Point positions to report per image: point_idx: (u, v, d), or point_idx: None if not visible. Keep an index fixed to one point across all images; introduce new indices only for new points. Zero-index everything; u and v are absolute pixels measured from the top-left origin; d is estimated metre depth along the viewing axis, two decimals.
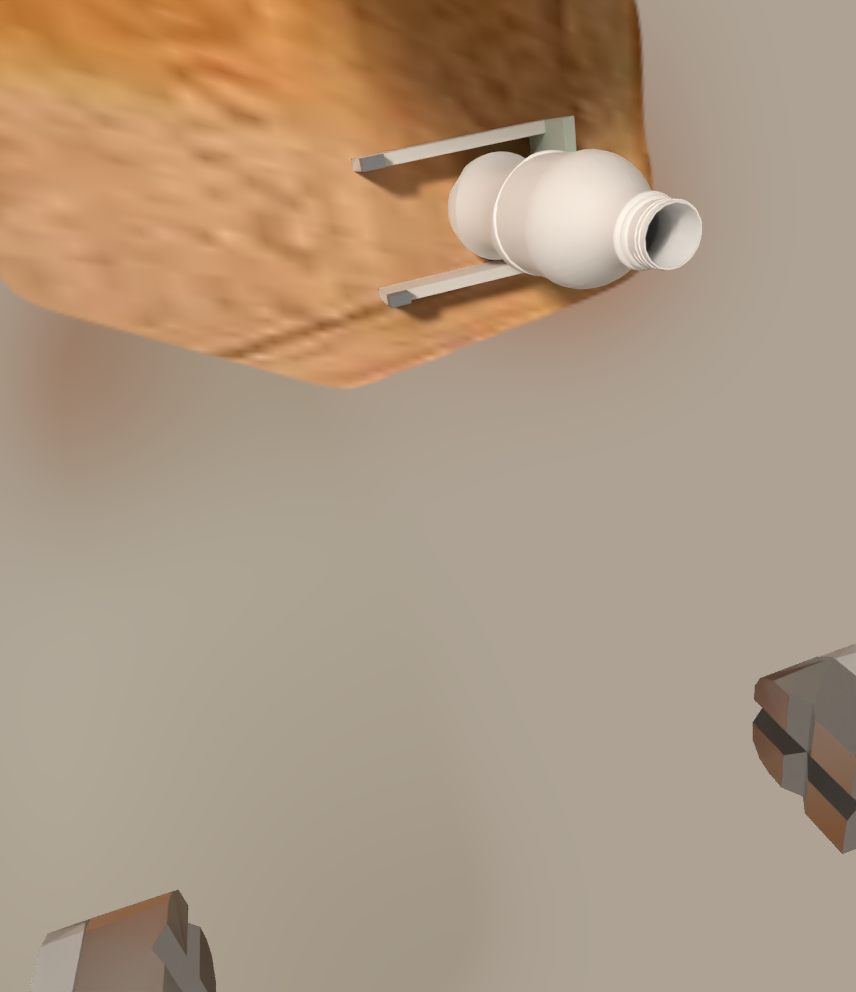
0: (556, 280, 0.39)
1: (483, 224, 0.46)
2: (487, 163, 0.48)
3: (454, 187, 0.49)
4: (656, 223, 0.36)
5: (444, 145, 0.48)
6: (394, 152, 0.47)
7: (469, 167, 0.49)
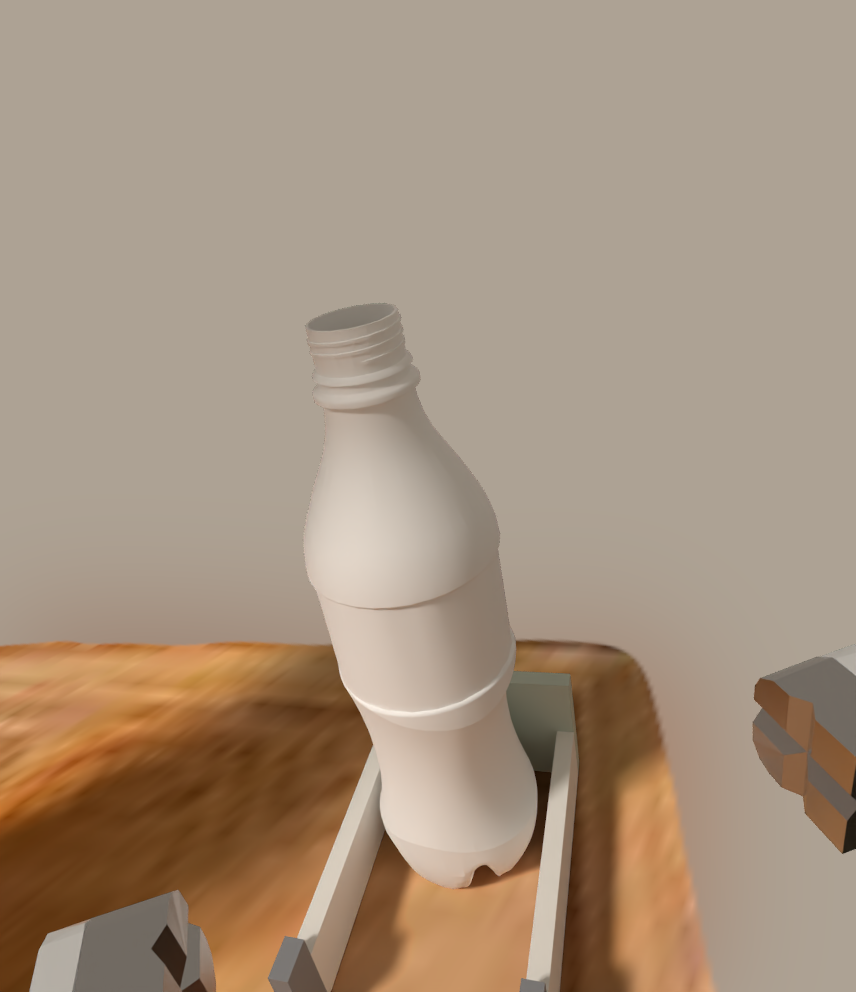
0: (453, 565, 0.23)
1: (422, 767, 0.27)
2: None
3: (400, 850, 0.30)
4: None
5: (338, 846, 0.31)
6: (303, 926, 0.28)
7: (382, 816, 0.31)
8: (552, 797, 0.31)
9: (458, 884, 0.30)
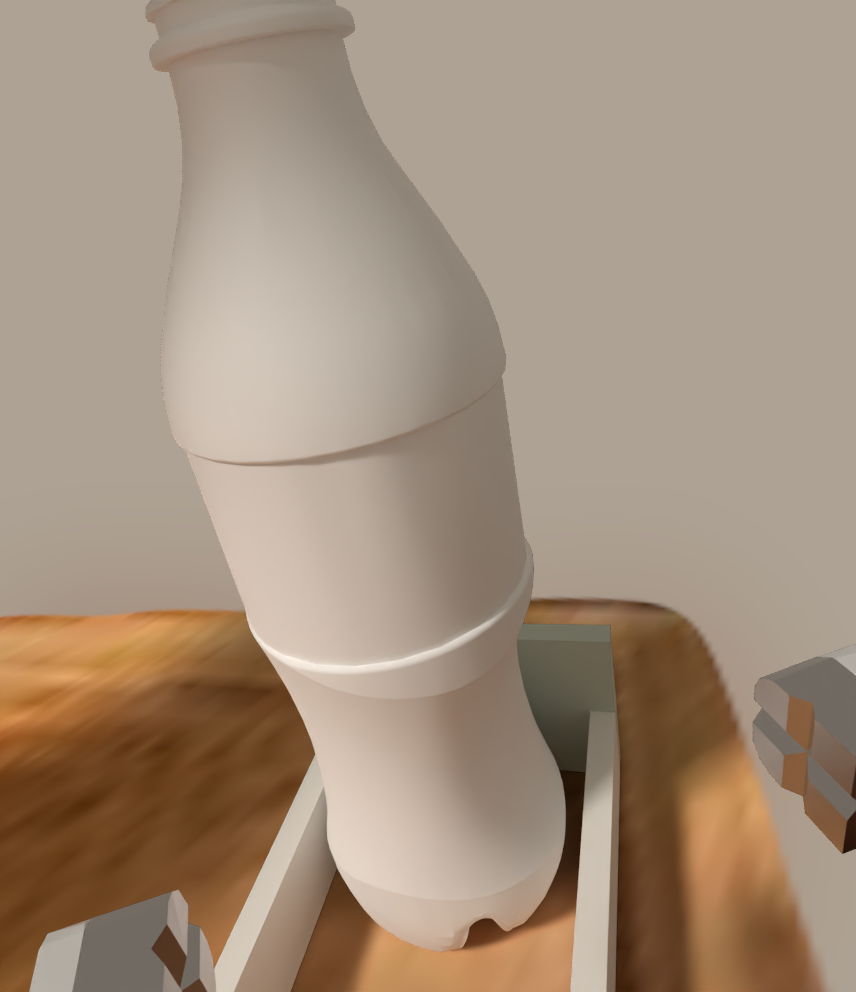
0: (418, 377, 0.12)
1: (380, 763, 0.16)
2: None
3: (355, 894, 0.20)
4: None
5: (260, 888, 0.20)
6: None
7: (328, 840, 0.21)
8: (589, 809, 0.20)
9: (445, 947, 0.19)
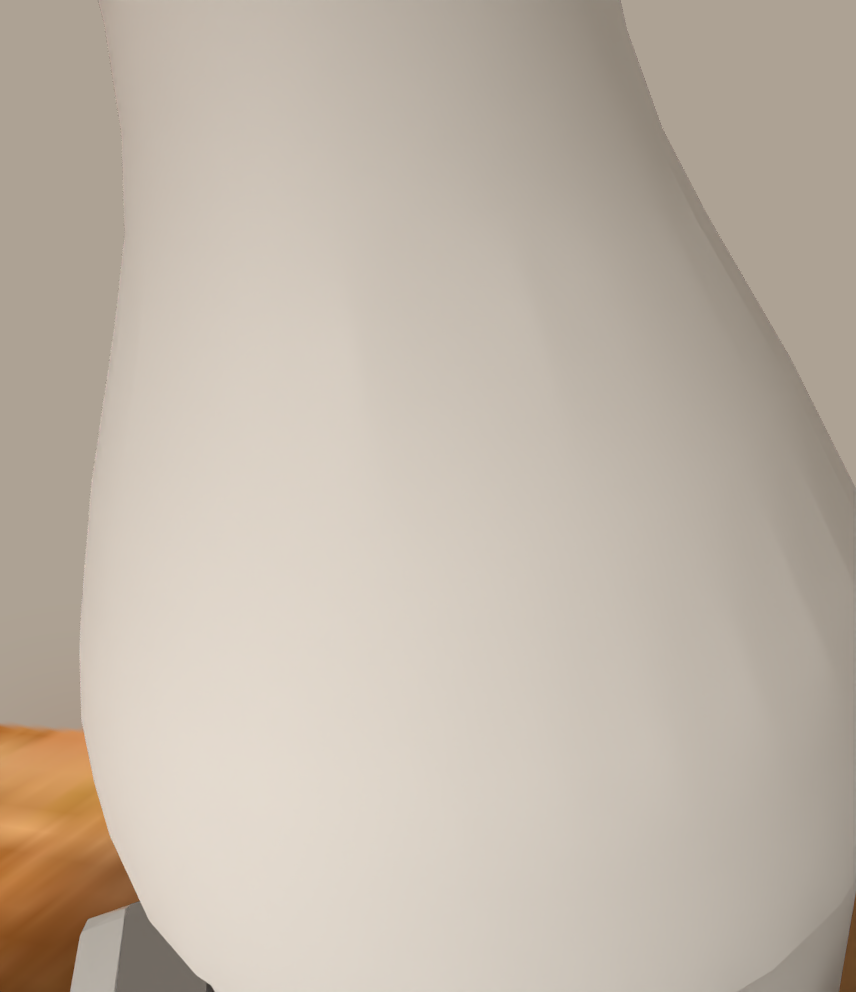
0: (815, 827, 0.04)
1: None
2: None
3: None
4: None
5: None
6: None
7: None
8: None
9: None
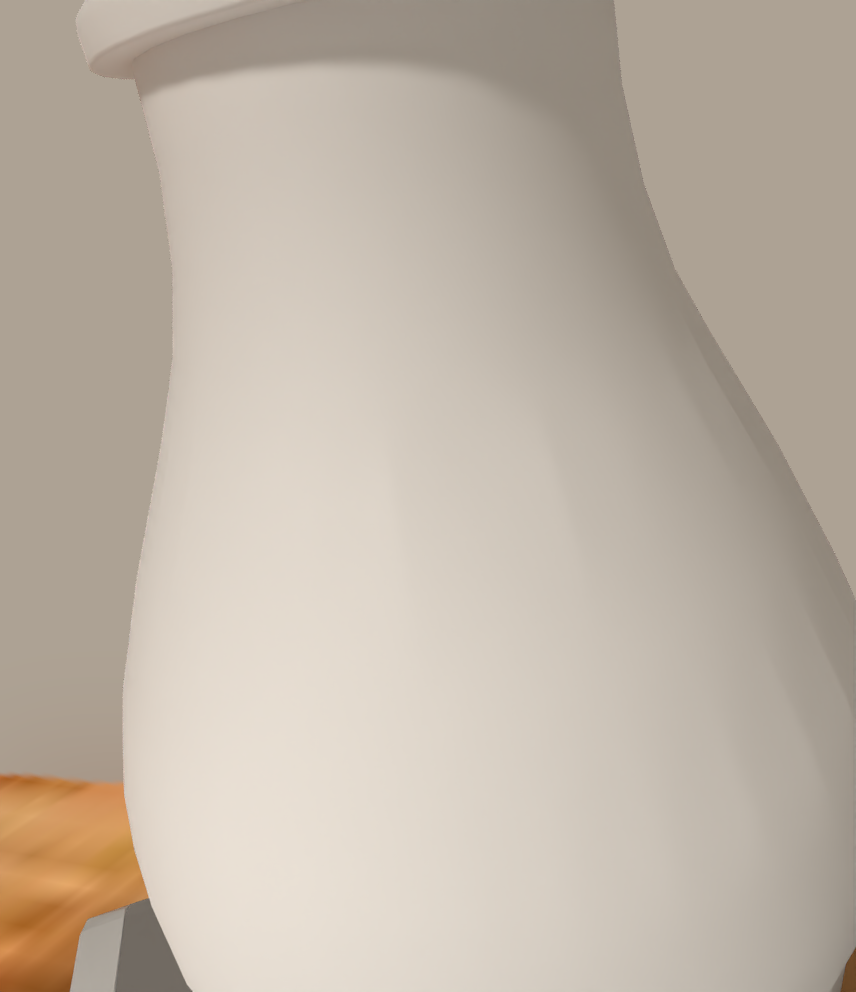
0: (806, 929, 0.04)
1: None
2: None
3: None
4: None
5: None
6: None
7: None
8: None
9: None
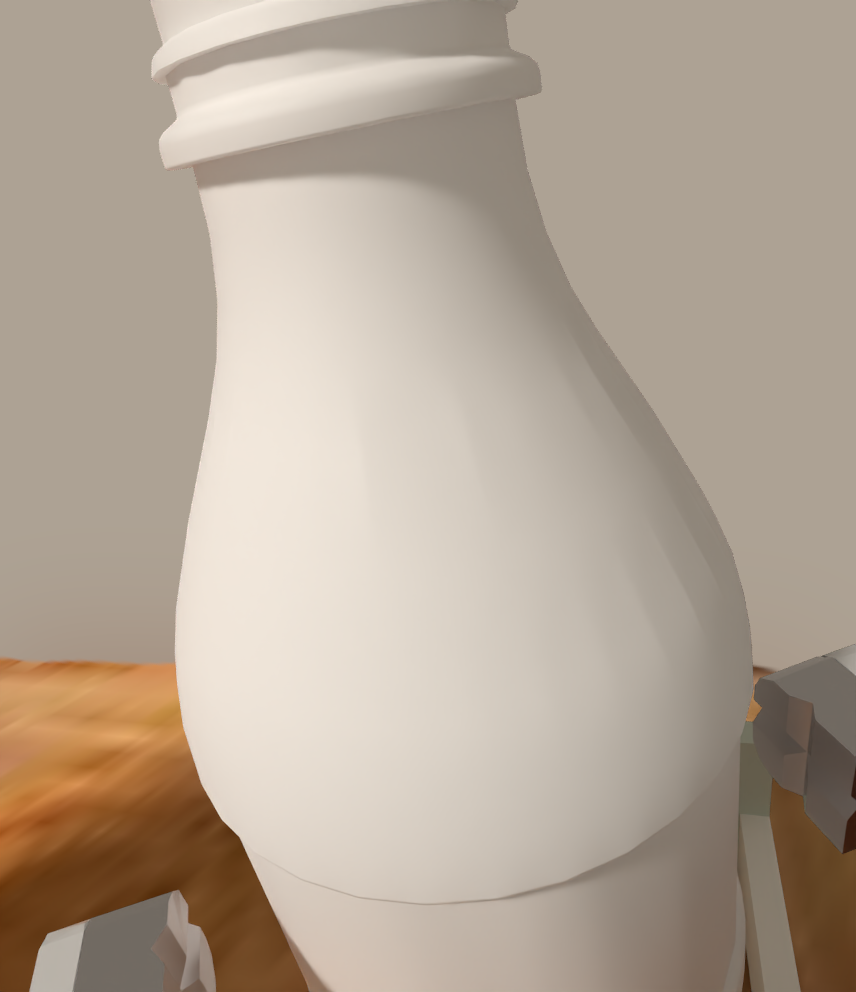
0: (652, 758, 0.06)
1: None
2: None
3: None
4: None
5: None
6: None
7: None
8: (764, 943, 0.18)
9: None
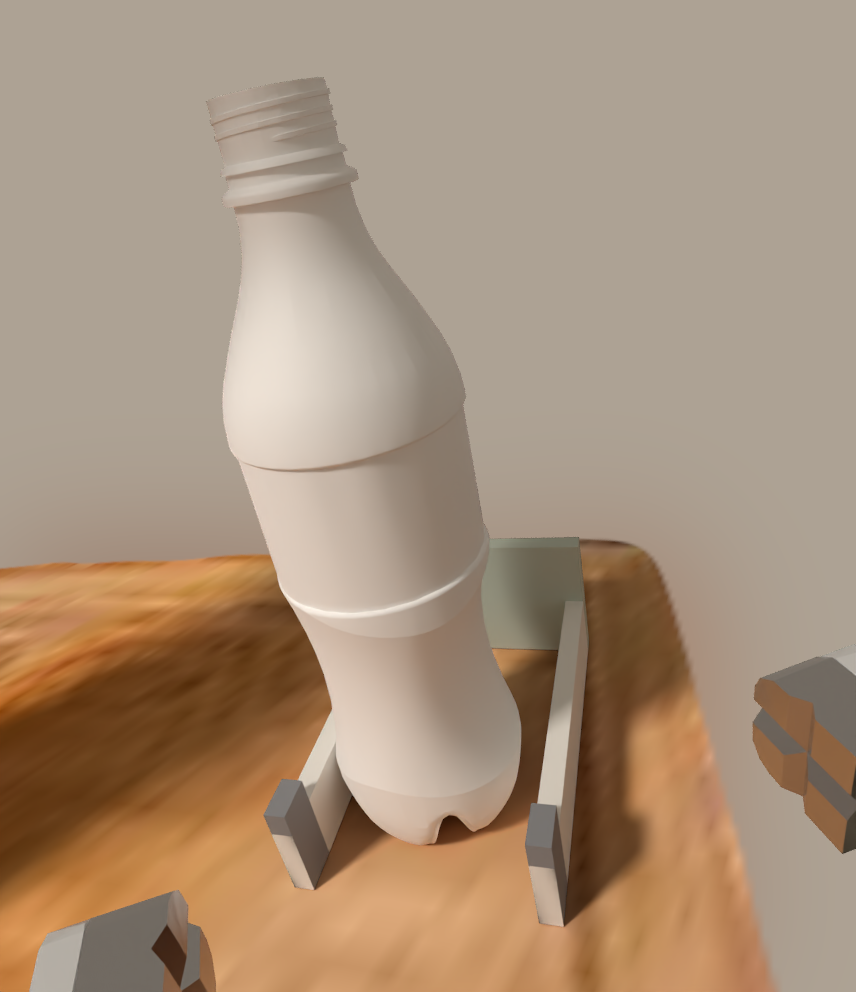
0: (395, 415, 0.18)
1: (371, 688, 0.22)
2: None
3: (355, 795, 0.26)
4: None
5: None
6: (301, 776, 0.27)
7: (336, 757, 0.27)
8: (561, 656, 0.30)
9: (422, 838, 0.25)
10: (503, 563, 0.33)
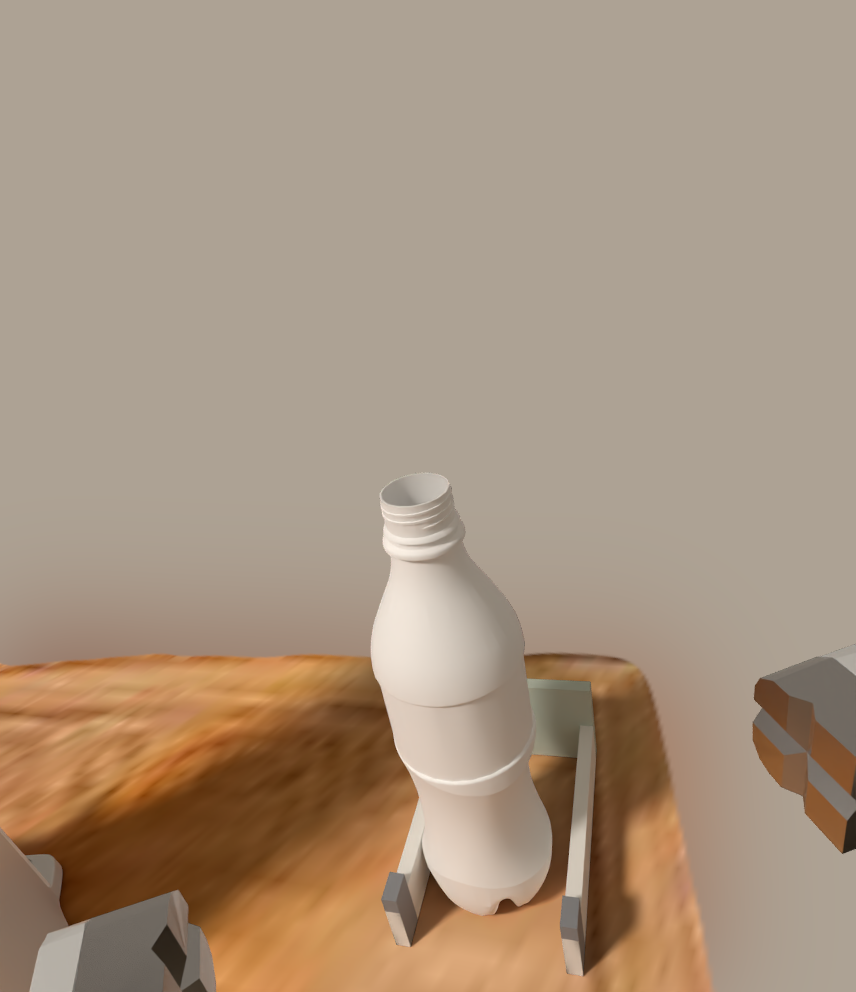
0: (487, 675, 0.30)
1: (459, 821, 0.34)
2: None
3: (439, 882, 0.38)
4: None
5: (419, 811, 0.41)
6: (399, 867, 0.39)
7: (424, 853, 0.39)
8: (578, 774, 0.42)
9: (485, 912, 0.37)
10: (534, 698, 0.45)
